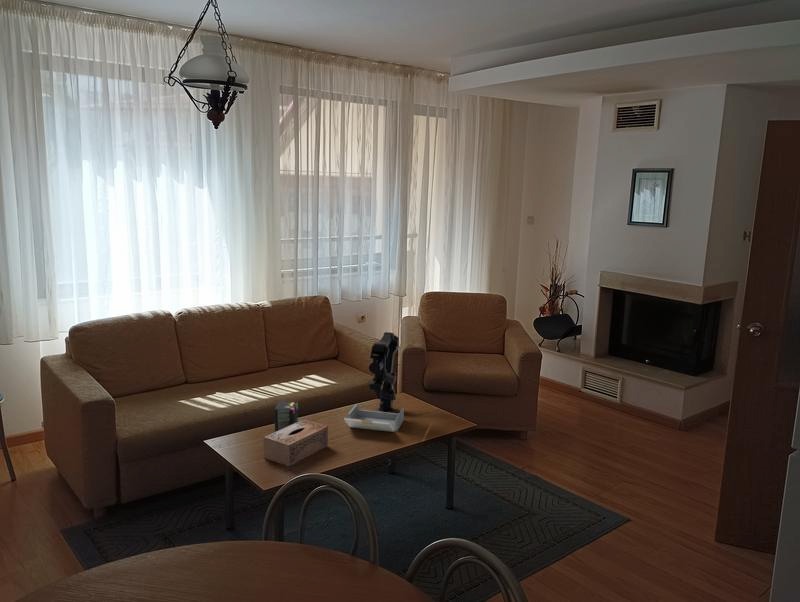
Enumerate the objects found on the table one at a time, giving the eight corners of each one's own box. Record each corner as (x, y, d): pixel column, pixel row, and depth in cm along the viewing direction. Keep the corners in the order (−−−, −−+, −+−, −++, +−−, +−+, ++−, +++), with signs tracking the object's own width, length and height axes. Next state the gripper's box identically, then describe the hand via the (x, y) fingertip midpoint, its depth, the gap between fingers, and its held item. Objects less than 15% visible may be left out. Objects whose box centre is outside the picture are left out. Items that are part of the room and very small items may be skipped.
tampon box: (294, 439, 294) (293, 409, 291) (274, 438, 294) (274, 409, 291) (298, 430, 304) (298, 401, 302) (279, 429, 304) (279, 401, 302)
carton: (356, 416, 324) (356, 403, 322) (403, 421, 319) (403, 408, 317) (347, 427, 309) (347, 413, 308) (397, 432, 304) (397, 419, 303)
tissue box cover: (303, 439, 294) (303, 419, 293) (327, 447, 287) (327, 426, 285) (264, 458, 273) (263, 437, 271) (288, 467, 265) (288, 445, 264)
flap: (350, 426, 309) (344, 417, 298) (394, 430, 304) (389, 422, 293) (350, 427, 308) (343, 419, 297) (393, 432, 304) (389, 424, 293)
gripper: (391, 374, 303) (390, 405, 306) (399, 364, 321) (398, 393, 324) (368, 372, 306) (368, 403, 309) (378, 362, 324) (377, 391, 327)
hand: (379, 397), depth 317 cm, fingers closed
